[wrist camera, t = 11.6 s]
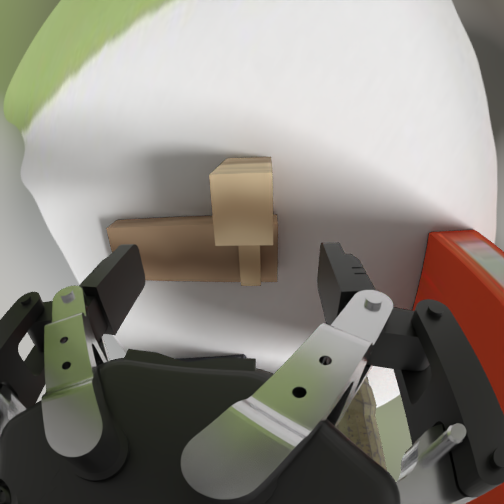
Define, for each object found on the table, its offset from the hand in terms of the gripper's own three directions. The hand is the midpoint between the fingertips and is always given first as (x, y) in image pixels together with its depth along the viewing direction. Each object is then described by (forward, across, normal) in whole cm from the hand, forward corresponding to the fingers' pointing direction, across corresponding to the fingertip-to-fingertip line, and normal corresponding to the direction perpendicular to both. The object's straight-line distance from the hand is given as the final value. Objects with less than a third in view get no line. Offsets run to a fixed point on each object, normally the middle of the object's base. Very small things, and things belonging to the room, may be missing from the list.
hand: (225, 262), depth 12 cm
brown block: (+15, +6, +6) cm, 17 cm away
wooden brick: (+15, 0, +3) cm, 15 cm away
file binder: (+15, -24, +13) cm, 31 cm away
